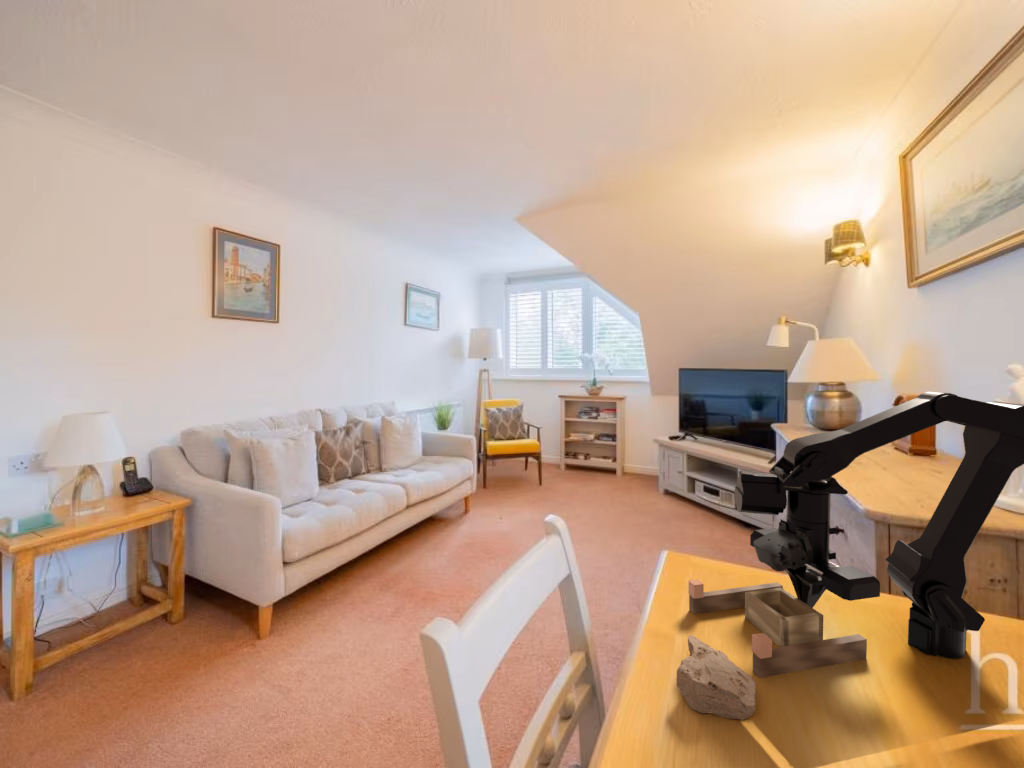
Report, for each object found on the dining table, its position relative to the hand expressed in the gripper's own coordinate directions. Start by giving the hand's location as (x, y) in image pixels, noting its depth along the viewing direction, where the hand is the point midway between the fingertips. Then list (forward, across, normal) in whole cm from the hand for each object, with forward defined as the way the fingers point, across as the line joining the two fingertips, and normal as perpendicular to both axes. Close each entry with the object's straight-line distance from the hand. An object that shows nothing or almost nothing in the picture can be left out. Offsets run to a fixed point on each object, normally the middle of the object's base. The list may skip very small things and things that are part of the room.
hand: (806, 610), depth 68 cm
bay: (+4, 0, -7) cm, 8 cm away
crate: (+3, 0, -5) cm, 5 cm away
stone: (+4, +8, -23) cm, 25 cm away
